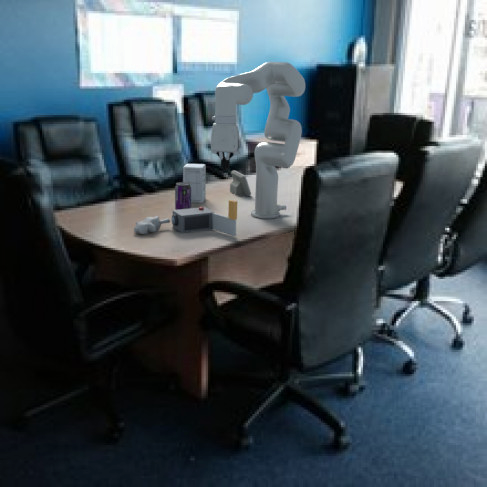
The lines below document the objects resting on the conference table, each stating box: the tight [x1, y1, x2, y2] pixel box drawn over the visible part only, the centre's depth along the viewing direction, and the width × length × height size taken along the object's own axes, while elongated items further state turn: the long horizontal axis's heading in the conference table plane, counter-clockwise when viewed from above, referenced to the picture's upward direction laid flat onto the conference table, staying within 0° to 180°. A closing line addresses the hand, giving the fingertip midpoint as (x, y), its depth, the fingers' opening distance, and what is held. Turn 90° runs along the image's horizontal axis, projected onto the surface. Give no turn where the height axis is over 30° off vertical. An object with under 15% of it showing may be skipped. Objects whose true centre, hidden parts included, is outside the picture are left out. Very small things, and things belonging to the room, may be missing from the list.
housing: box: [171, 206, 215, 234], centre depth 227 cm, size 15×9×8 cm, turn 118°
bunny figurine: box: [133, 215, 171, 236], centre depth 224 cm, size 10×5×15 cm
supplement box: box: [182, 163, 207, 204], centre depth 271 cm, size 10×9×17 cm
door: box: [212, 199, 238, 237], centre depth 221 cm, size 13×2×14 cm, turn 46°
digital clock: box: [229, 169, 252, 197], centre depth 289 cm, size 16×9×11 cm, turn 10°
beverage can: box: [174, 181, 192, 210], centre depth 253 cm, size 7×7×12 cm
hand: (225, 169), depth 216 cm, fingers closed
